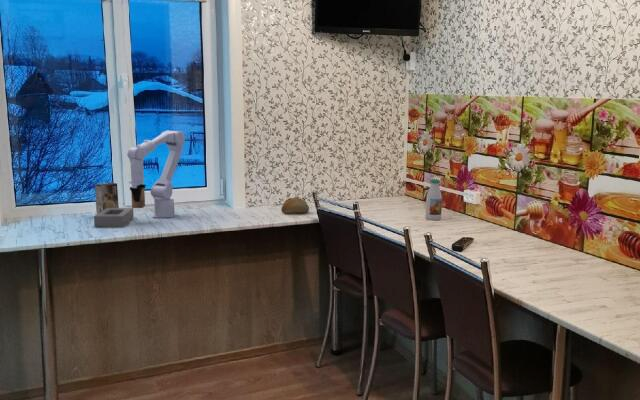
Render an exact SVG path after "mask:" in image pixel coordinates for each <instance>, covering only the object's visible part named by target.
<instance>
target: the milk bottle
mask: <svg viewBox="0 0 640 400" xmlns="http://www.w3.org/2000/svg"><path fill="white" fill-rule="evenodd" d="M429 182H430V184H429V185H430V186H429V189H428V191H427V194H426V199H425V200H426V202H425V219H426V220H429V221H440V220H441V219H442V210H443V209H442V205H443V196H442V192H441V189H440V182H441V181H440V179H436V178H432V179H430V181H429Z"/></svg>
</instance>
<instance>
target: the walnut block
mask: <svg viewBox="0 0 640 400" xmlns="http://www.w3.org/2000/svg"><path fill="white" fill-rule="evenodd" d="M130 192H131V191H130ZM145 193H146V192H145V189H144V188H142V190H141V194H140V201H139V202H135V201H134V197H133V194H132V192H131V193H130V194H131V208H133V209H144V208H145V207H146V199H145V197H146V196H145V195H146V194H145Z"/></svg>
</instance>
